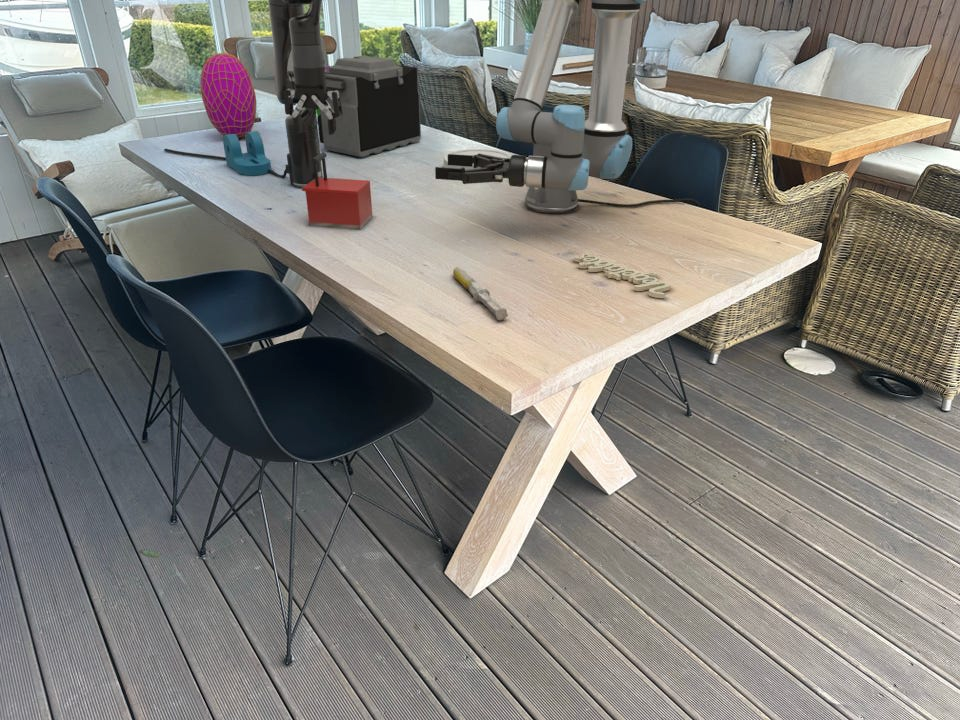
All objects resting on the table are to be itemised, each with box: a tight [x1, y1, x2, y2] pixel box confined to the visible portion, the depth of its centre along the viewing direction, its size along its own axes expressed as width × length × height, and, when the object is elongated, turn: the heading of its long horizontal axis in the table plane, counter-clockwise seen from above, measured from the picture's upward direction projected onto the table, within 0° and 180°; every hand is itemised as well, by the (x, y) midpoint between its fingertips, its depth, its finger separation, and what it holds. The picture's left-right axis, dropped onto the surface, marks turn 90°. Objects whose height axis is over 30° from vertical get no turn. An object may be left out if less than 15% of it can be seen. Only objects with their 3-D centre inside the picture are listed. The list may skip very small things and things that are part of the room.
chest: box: [304, 183, 373, 230], centre depth 183 cm, size 14×10×9 cm
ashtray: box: [443, 148, 512, 170], centre depth 230 cm, size 23×23×4 cm
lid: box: [301, 151, 371, 195], centre depth 178 cm, size 15×10×8 cm
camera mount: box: [222, 131, 272, 176], centre depth 226 cm, size 18×10×10 cm, turn 35°
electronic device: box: [317, 55, 422, 159], centre depth 250 cm, size 37×22×30 cm, turn 144°
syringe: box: [452, 266, 509, 321], centre depth 145 cm, size 25×4×3 cm, turn 21°
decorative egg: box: [200, 52, 257, 139], centre depth 259 cm, size 19×19×30 cm
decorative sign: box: [574, 252, 671, 299], centre depth 155 cm, size 26×1×10 cm
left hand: (316, 133), depth 174 cm, fingers open, 8 cm apart
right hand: (441, 166), depth 173 cm, fingers open, 13 cm apart
